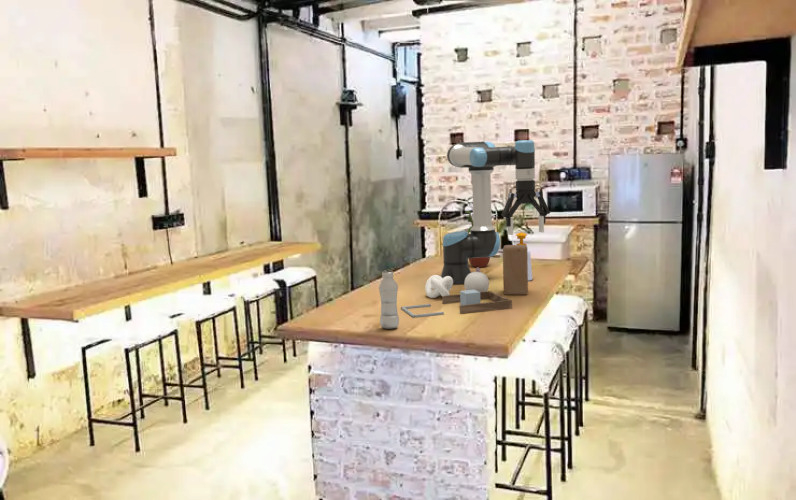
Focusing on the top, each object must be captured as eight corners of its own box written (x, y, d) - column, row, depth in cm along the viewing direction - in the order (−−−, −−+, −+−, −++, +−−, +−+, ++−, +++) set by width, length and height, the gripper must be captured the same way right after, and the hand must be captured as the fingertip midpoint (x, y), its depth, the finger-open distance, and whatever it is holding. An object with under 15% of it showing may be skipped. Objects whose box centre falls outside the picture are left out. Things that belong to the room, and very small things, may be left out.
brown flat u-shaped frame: (442, 303, 263) (442, 296, 263) (490, 298, 269) (490, 291, 268) (460, 313, 244) (460, 306, 244) (512, 308, 250) (511, 300, 249)
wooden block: (527, 295, 272) (527, 247, 269) (503, 295, 274) (502, 248, 271) (528, 290, 281) (527, 244, 279) (504, 290, 283) (503, 244, 281)
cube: (460, 305, 258) (460, 290, 257) (474, 304, 260) (474, 289, 259) (466, 308, 252) (465, 293, 251) (480, 307, 254) (480, 292, 253)
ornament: (491, 293, 278) (490, 265, 276) (486, 298, 268) (485, 270, 267) (467, 293, 281) (467, 265, 280) (462, 298, 272) (461, 269, 270)
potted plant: (496, 265, 348) (495, 200, 343) (479, 270, 337) (477, 202, 332) (470, 263, 360) (468, 199, 355) (452, 267, 348) (450, 201, 344)
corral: (401, 308, 256) (400, 306, 256) (429, 305, 260) (429, 303, 260) (413, 317, 241) (413, 315, 241) (443, 314, 244) (443, 312, 244)
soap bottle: (531, 275, 315) (531, 230, 312) (532, 281, 301) (532, 233, 298) (511, 276, 316) (510, 230, 313) (511, 281, 303) (510, 233, 300)
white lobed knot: (456, 299, 269) (455, 278, 268) (427, 301, 269) (426, 279, 267) (452, 294, 280) (451, 273, 279) (424, 295, 280) (423, 275, 278)
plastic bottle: (379, 326, 230) (377, 270, 228) (398, 325, 231) (396, 269, 228) (380, 331, 224) (378, 273, 221) (400, 330, 225) (398, 272, 222)
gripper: (500, 181, 250) (502, 236, 253) (558, 178, 258) (558, 231, 260) (492, 181, 258) (493, 234, 260) (548, 178, 265) (549, 230, 268)
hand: (526, 233), depth 260 cm, fingers open, 13 cm apart
